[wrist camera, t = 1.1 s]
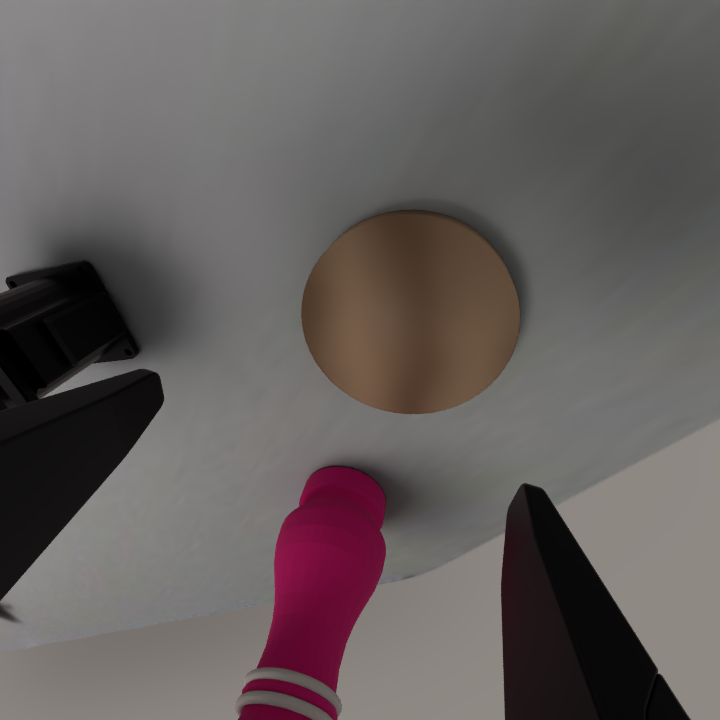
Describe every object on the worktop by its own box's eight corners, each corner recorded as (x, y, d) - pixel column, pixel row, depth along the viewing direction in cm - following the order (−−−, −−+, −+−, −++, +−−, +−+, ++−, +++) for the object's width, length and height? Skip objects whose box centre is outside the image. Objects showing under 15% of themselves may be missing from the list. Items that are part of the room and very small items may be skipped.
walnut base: (336, 404, 25) (331, 419, 24) (284, 232, 20) (273, 240, 19) (518, 391, 22) (522, 407, 21) (511, 187, 17) (517, 192, 16)
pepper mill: (332, 533, 32) (211, 974, 16) (281, 474, 30) (71, 930, 13) (409, 515, 30) (364, 1034, 13) (361, 449, 27) (223, 991, 10)
